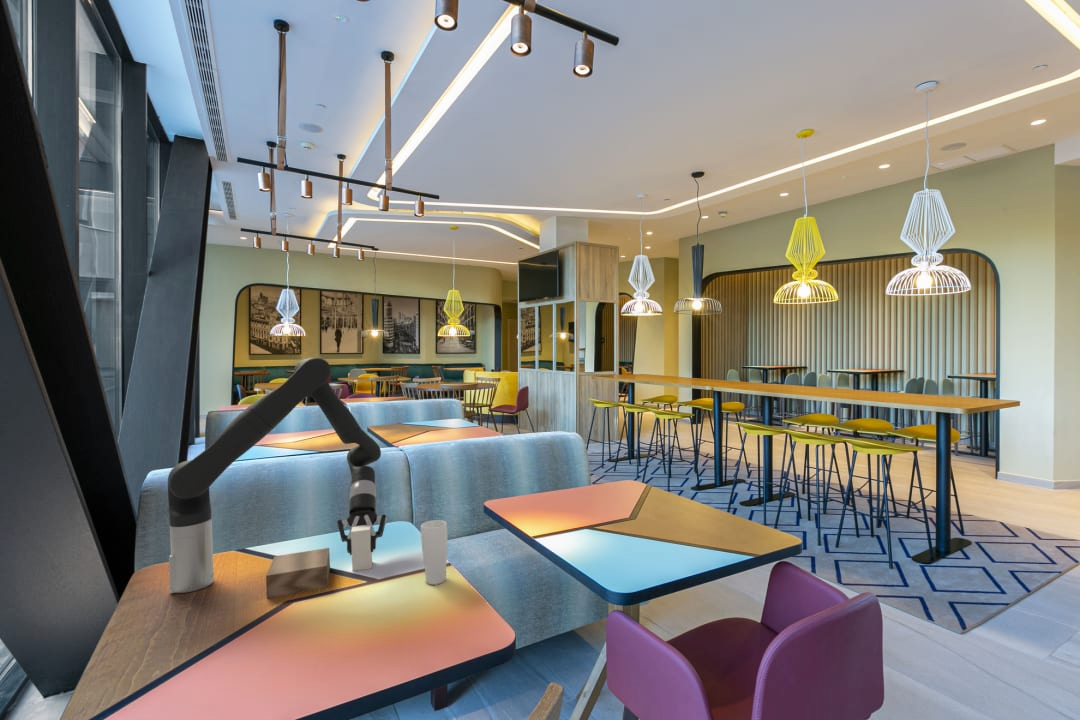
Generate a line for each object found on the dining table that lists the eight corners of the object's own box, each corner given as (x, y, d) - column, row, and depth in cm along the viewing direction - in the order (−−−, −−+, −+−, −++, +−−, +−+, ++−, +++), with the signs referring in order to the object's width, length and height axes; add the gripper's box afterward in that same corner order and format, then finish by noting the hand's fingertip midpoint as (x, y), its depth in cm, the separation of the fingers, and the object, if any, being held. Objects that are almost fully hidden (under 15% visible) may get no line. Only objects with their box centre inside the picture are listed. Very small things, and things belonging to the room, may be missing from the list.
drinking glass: (443, 587, 126) (440, 528, 126) (418, 586, 128) (416, 527, 128) (453, 576, 133) (450, 520, 133) (429, 575, 134) (427, 519, 134)
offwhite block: (352, 571, 139) (350, 531, 139) (354, 564, 144) (352, 526, 144) (371, 568, 141) (369, 529, 141) (372, 562, 145) (370, 524, 145)
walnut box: (266, 599, 125) (266, 575, 125) (275, 578, 138) (274, 556, 138) (327, 588, 129) (326, 565, 130) (330, 568, 143) (329, 547, 143)
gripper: (336, 495, 148) (332, 549, 136) (386, 489, 152) (387, 542, 140) (339, 508, 153) (335, 562, 141) (387, 502, 157) (388, 554, 145)
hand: (361, 551), depth 141 cm, fingers closed on offwhite block, 5 cm apart
